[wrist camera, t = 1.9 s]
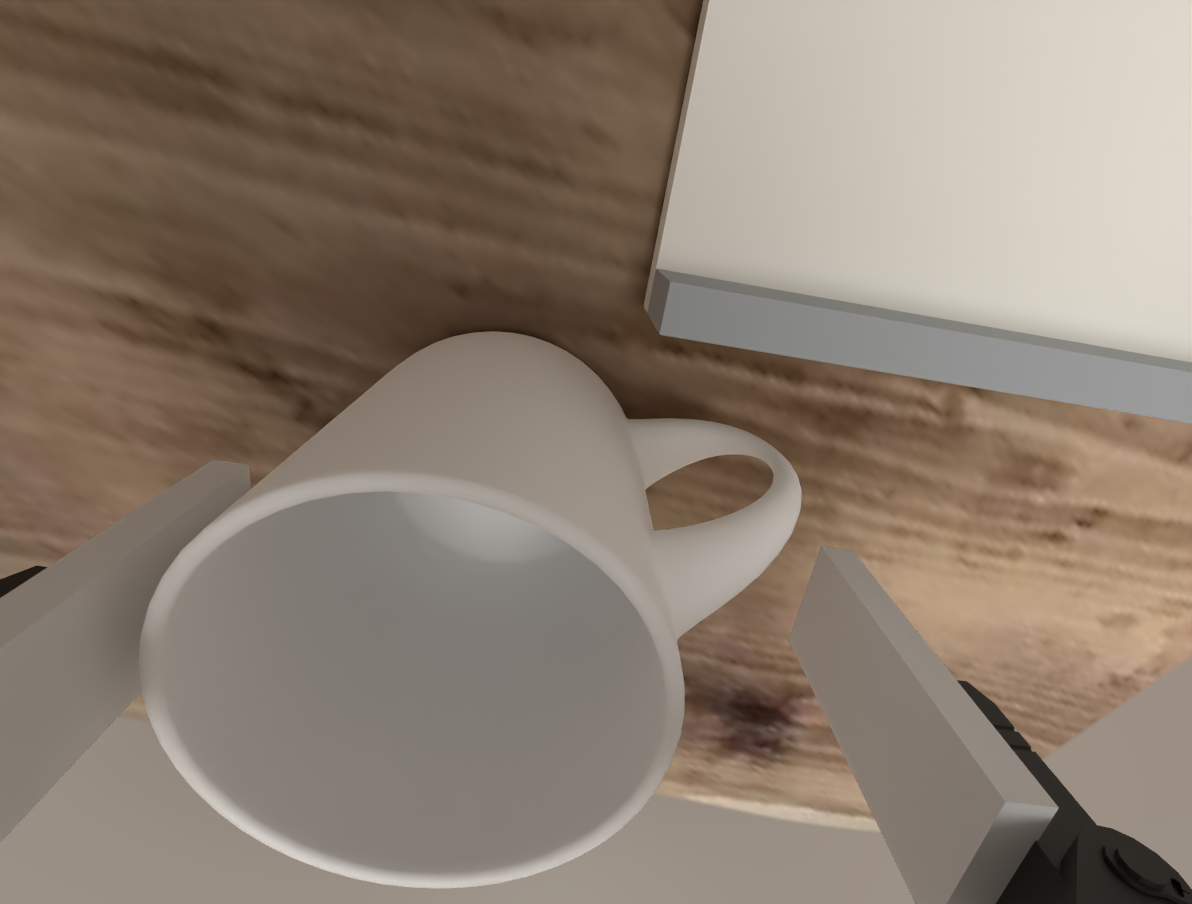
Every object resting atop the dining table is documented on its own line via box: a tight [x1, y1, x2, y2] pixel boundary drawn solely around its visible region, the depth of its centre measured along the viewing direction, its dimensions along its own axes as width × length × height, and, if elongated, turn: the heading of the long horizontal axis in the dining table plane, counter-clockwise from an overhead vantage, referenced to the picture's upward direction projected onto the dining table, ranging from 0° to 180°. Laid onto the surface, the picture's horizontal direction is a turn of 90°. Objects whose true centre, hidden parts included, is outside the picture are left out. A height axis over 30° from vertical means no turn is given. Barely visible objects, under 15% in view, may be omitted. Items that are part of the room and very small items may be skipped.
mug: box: [138, 331, 802, 888], centre depth 14 cm, size 9×12×11 cm
